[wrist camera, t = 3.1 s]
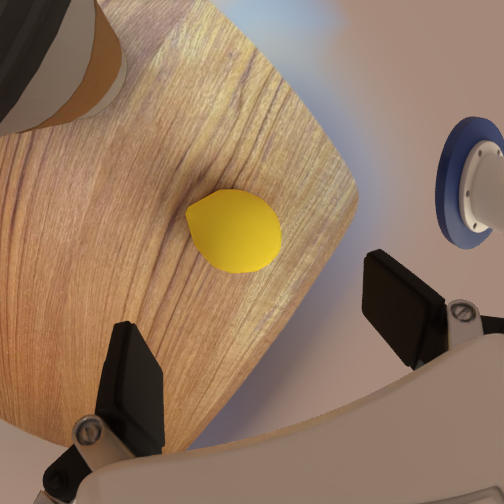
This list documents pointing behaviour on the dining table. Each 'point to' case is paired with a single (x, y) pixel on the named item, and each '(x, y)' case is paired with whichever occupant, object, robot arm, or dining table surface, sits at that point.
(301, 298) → the dining table surface
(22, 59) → the coffee cup
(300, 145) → the dining table surface
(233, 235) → the lemon
